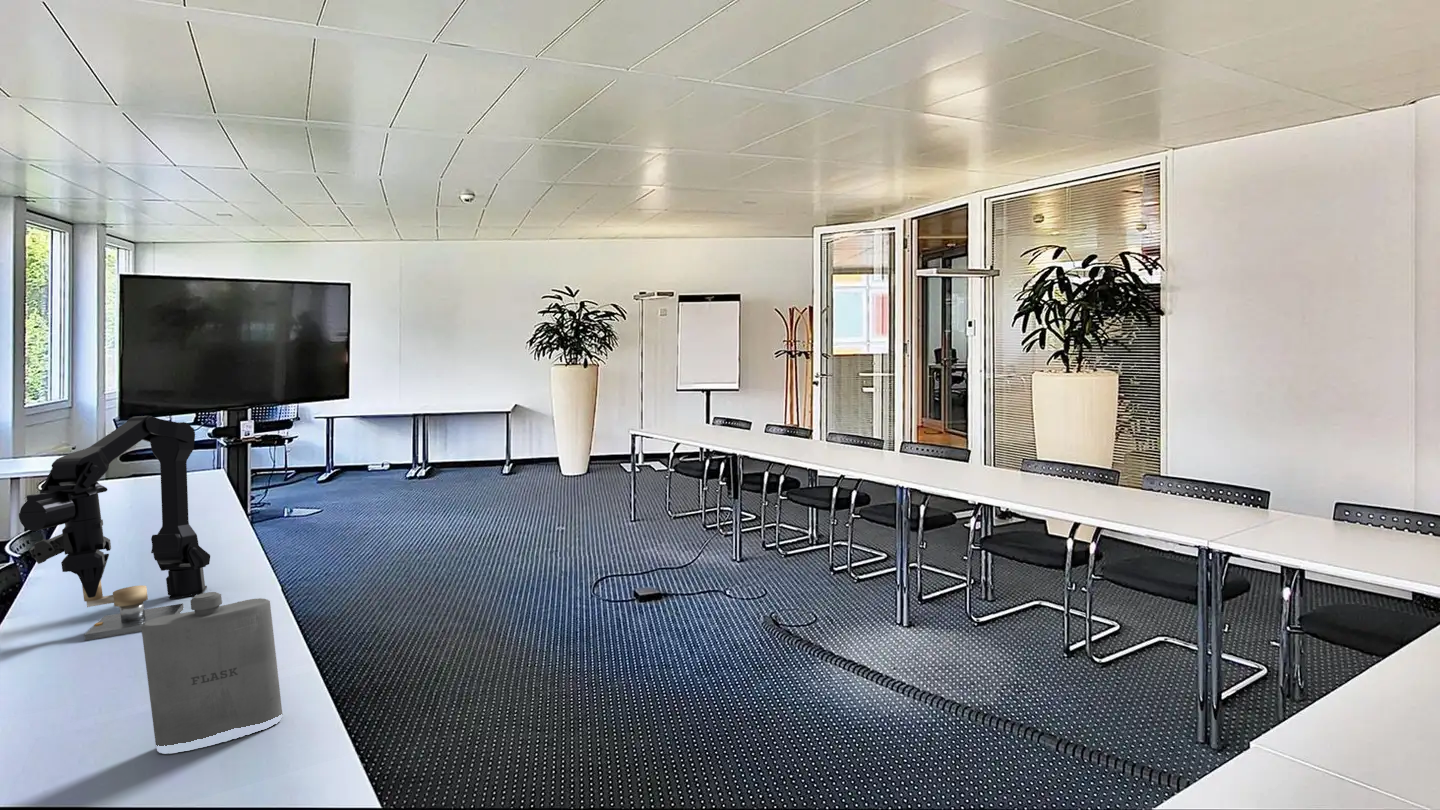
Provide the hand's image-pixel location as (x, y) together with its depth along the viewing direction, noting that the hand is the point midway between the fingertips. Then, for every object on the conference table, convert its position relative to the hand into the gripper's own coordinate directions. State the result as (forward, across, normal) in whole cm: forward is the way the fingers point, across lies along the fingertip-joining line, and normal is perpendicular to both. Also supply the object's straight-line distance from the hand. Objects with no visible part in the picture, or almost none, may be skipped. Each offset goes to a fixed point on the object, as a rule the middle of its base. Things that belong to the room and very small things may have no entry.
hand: (92, 595), depth 162 cm
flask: (+7, +74, +20) cm, 77 cm away
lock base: (+7, 0, +6) cm, 10 cm away
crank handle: (+3, 0, +4) cm, 5 cm away
